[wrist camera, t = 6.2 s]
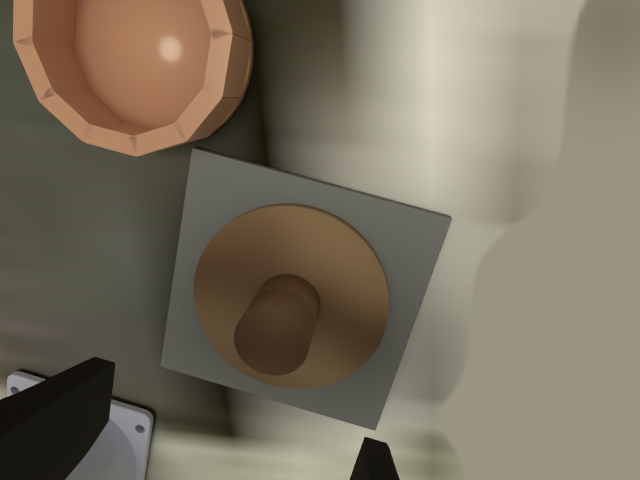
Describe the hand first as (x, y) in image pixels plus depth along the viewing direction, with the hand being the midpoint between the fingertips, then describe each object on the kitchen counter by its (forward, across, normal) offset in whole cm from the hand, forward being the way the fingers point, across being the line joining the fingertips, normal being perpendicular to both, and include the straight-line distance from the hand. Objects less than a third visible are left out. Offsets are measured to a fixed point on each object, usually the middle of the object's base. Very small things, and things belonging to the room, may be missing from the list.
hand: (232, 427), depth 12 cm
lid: (+8, 0, 0) cm, 8 cm away
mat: (+8, 0, 0) cm, 9 cm away
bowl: (+8, +7, -9) cm, 14 cm away
